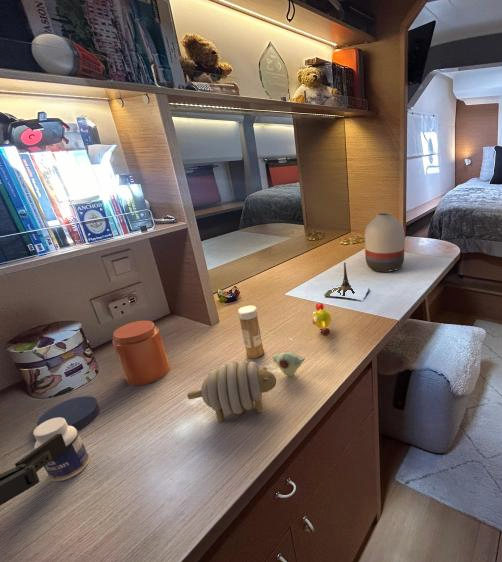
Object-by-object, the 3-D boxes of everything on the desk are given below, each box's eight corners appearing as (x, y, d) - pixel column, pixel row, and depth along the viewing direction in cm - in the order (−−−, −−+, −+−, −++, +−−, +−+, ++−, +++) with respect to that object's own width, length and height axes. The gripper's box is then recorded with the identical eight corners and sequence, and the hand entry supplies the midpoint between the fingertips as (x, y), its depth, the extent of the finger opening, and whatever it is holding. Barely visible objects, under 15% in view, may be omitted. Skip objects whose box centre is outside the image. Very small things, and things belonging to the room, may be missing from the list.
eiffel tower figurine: (370, 289, 127) (369, 256, 122) (362, 301, 118) (361, 265, 113) (333, 286, 131) (331, 253, 126) (323, 297, 122) (320, 262, 117)
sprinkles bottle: (265, 355, 89) (257, 310, 84) (247, 360, 88) (238, 314, 82) (262, 347, 93) (255, 303, 88) (245, 351, 91) (236, 307, 86)
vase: (395, 276, 139) (395, 219, 130) (358, 271, 146) (356, 216, 136) (409, 264, 153) (410, 211, 144) (375, 259, 160) (374, 208, 150)
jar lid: (108, 413, 71) (105, 406, 71) (51, 445, 64) (47, 438, 63) (88, 397, 76) (85, 390, 75) (33, 425, 69) (29, 418, 68)
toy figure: (310, 318, 108) (308, 299, 105) (328, 316, 109) (326, 297, 106) (316, 349, 92) (314, 327, 89) (336, 346, 93) (334, 324, 90)
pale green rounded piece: (308, 372, 83) (305, 349, 80) (301, 383, 79) (298, 359, 76) (278, 368, 84) (274, 345, 82) (270, 379, 81) (266, 355, 78)
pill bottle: (44, 487, 56) (19, 444, 52) (57, 461, 61) (35, 420, 57) (84, 475, 58) (63, 432, 54) (94, 450, 63) (75, 410, 59)
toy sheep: (282, 415, 70) (275, 370, 66) (192, 441, 64) (177, 395, 60) (276, 383, 79) (269, 343, 75) (196, 404, 73) (184, 362, 69)
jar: (117, 383, 80) (99, 337, 76) (148, 360, 89) (133, 317, 84) (150, 387, 79) (134, 341, 74) (178, 363, 87) (165, 320, 82)
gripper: (-306, 642, 34) (-50, 478, 54) (-58, 607, 34) (104, 456, 54) (-348, 582, 32) (-68, 437, 53) (-89, 545, 32) (89, 415, 53)
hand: (19, 446), depth 54 cm, fingers open, 13 cm apart
